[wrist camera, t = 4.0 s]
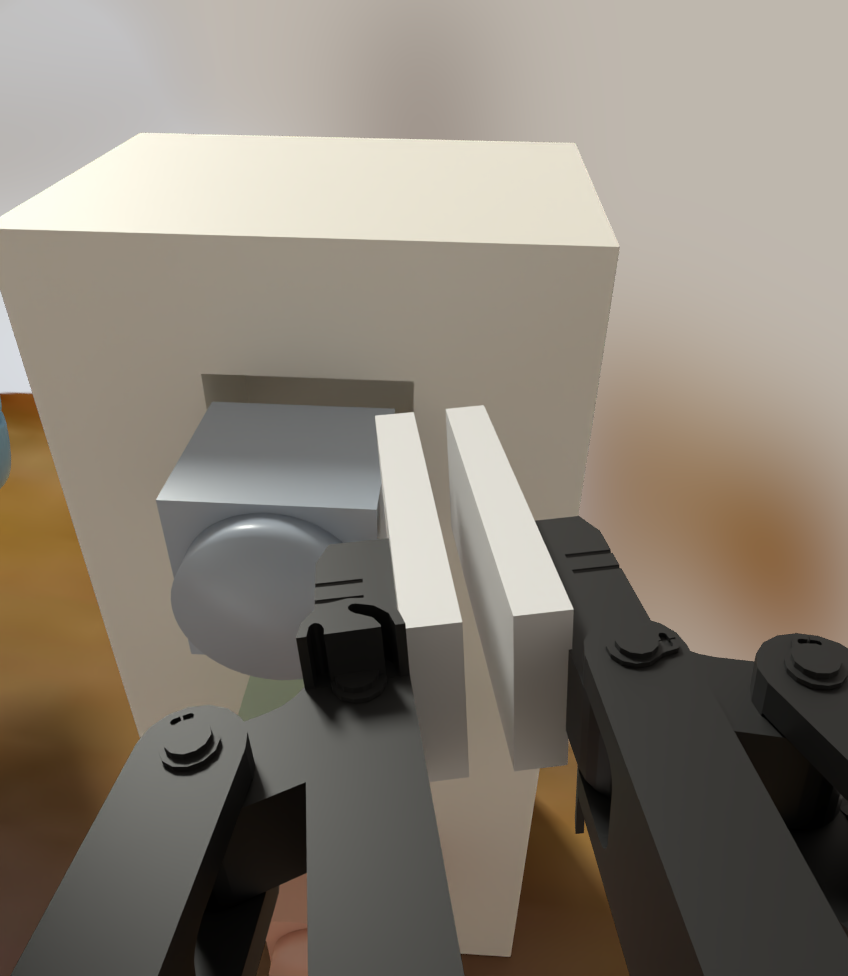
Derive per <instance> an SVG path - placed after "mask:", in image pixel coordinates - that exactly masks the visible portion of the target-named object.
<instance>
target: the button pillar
mask: <svg viewBox="0 0 848 976" xmlns="http://www.w3.org/2000/svg"><path fill="white" fill-rule="evenodd" d="M619 248H620V247H619V244H618V242H617V239H616V237H615V235H614V232H613V230H612V228H611V225H610V223H609V221H608V219H607V216H606V214H605V212H604V209H603V207H602V205H601V203H600V200H599V197H598V195H597V193H596V190H595V188H594V186H593V183H592V181H591V179H590V176H589V174H588V172H587V170H586V167H585V165H584V163H583V160H582V158H581V155H580V153H579V151H578V149H577V146H576V144H575V143H550V142H549V143H547V142H507V141H506V142H505V141H466V140H465V141H464V140H424V139H422V140H421V139H381V138H379V139H378V138H338V137H296V136H295V137H293V136H254V135H252V136H251V135H209V134H169V133H139V134H138V135H136V136H135V137H133V138H131V139H129V140H128V141H126V142H124V143H123V144H121V145H119V146H118V147H116V148H114V149H113V150H111V151H109V152H108V153H106V154H104V155H103V156H101V157H99V158H98V159H96V160H94V161H92V162H91V163H89V164H88V165H86V166H84V167H83V168H81V169H79V170H77V171H76V172H74V173H72V174H71V175H70V176H67V177H66V178H64V179H62V180H61V181H59V182H57V183H56V184H54V185H52V186H51V187H49V188H47V189H46V190H44V191H42V192H41V193H39V194H37V195H36V196H34V197H32V198H31V199H29V200H27V201H26V202H24V203H23V204H21V205H19V206H17V207H16V208H14V209H12V210H11V211H9V212H7V213H6V214H4V215H2V216H1V217H0V291H1V294H2V297H3V300H4V304H5V306H6V310H7V313H8V316H9V319H10V323H11V326H12V329H13V332H14V336H15V338H16V341H17V345H18V348H19V351H20V355H21V358H22V361H23V364H24V367H25V371H26V374H27V377H28V380H29V384H30V387H31V389H32V393H33V396H34V400H35V403H36V406H37V409H38V412H39V416H40V419H41V422H42V425H43V428H44V432H45V435H46V438H47V441H48V444H49V448H50V451H51V454H52V457H53V461H54V464H55V467H56V470H57V473H58V477H59V480H60V483H61V486H62V489H63V493H64V496H65V499H66V502H67V505H68V509H69V512H70V515H71V518H72V521H73V525H74V528H75V531H76V534H77V537H78V541H79V544H80V547H81V550H82V553H83V557H84V560H85V563H86V566H87V569H88V573H89V576H90V579H91V582H92V585H93V589H94V592H95V595H96V598H97V601H98V605H99V608H100V611H101V614H102V617H103V621H104V624H105V627H106V630H107V634H108V637H109V640H110V643H111V646H112V650H113V653H114V656H115V659H116V662H117V666H118V669H119V672H120V675H121V678H122V682H123V685H124V688H125V691H126V694H127V698H128V701H129V704H130V707H131V710H132V714H133V717H134V720H135V723H136V726H137V730H138V733H139V736H140V739H141V737H142V736H143V735H144V733H145V732H146V731H147V730H148V728H150V727H151V726H152V725H154V724H155V723H157V722H158V721H160V720H161V719H162V718H164V717H165V716H167V715H169V714H172V713H174V712H177V711H180V710H182V709H185V708H187V707H194V706H203V705H213V706H218V707H223V708H228V709H229V710H231V711H232V712H234V713H235V714H237V715H238V713H239V710H240V707H241V703H242V700H243V697H244V694H245V690H246V687H247V684H248V681H249V678H250V675H246V674H242V673H240V672H237V671H234V670H232V669H229V668H227V667H225V666H223V665H221V664H219V663H217V662H216V661H214V660H212V659H211V658H209V657H208V656H206V655H202V654H191V650H190V646H189V642H188V638H187V637H186V636H185V635H184V633H183V632H182V630H181V629H180V627H179V625H178V623H177V621H176V619H175V617H174V614H173V610H172V605H171V588H172V584H173V581H174V577H173V572H172V568H171V564H170V559H169V555H168V551H167V546H166V542H165V538H164V533H163V529H162V525H161V520H160V516H159V512H158V507H157V503H156V499H157V497H158V495H159V493H160V492H161V490H162V488H163V486H164V485H165V483H166V481H167V479H168V478H169V476H170V474H171V472H172V471H173V469H174V467H175V465H176V464H177V462H178V460H179V458H180V457H181V455H182V453H183V451H184V450H185V448H186V446H187V444H188V443H189V441H190V439H191V437H192V436H193V434H194V432H195V430H196V429H197V427H198V425H199V423H200V422H201V420H202V418H203V416H204V415H205V413H206V411H207V409H208V408H209V406H210V404H211V402H234V403H260V404H286V405H312V406H338V407H364V408H390V409H395V414H398V413H408V412H414V416H415V420H416V424H417V429H418V433H419V437H420V442H421V446H422V450H423V455H424V459H425V463H426V467H427V472H428V476H429V480H430V485H431V489H432V493H433V498H434V502H435V506H436V511H437V515H438V519H439V523H440V528H441V532H442V536H443V541H444V545H445V549H446V554H447V558H448V562H449V566H450V571H451V575H452V579H453V584H454V588H455V592H456V597H457V601H458V605H459V610H460V614H461V618H462V624H463V647H464V669H465V691H466V714H467V736H468V759H469V777H467V778H459V779H451V780H443V781H435V782H429V783H430V789H431V794H432V800H433V805H434V811H435V816H436V822H437V827H438V833H439V838H440V844H441V849H442V855H443V860H444V866H445V872H446V877H447V883H448V888H449V894H450V899H451V905H452V910H453V916H454V921H455V927H456V932H457V938H458V943H459V949H460V953H461V954H475V955H490V956H504V957H511V951H512V944H513V938H514V931H515V925H516V918H517V912H518V905H519V899H520V892H521V886H522V879H523V873H524V866H525V860H526V853H527V847H528V840H529V834H530V827H531V821H532V814H533V808H534V801H535V795H536V788H537V782H538V775H539V769H540V768H537V769H529V770H521V771H514V769H513V765H512V761H511V757H510V753H509V749H508V746H507V742H506V738H505V734H504V730H503V726H502V722H501V718H500V714H499V711H498V707H497V703H496V699H495V695H494V691H493V687H492V683H491V679H490V676H489V672H488V668H487V664H486V660H485V656H484V652H483V648H482V644H481V641H480V637H479V633H478V629H477V625H476V621H475V617H474V613H473V609H472V606H471V602H470V598H469V594H468V590H467V586H466V582H465V578H464V574H463V571H462V567H461V563H460V559H459V555H458V551H457V547H456V543H455V539H454V536H453V532H452V528H451V509H450V489H449V469H448V449H447V429H446V409H450V408H460V407H470V406H481V405H484V407H485V409H486V411H487V414H488V416H489V418H490V420H491V423H492V425H493V427H494V430H495V432H496V434H497V436H498V439H499V441H500V443H501V445H502V448H503V450H504V452H505V454H506V457H507V459H508V461H509V464H510V466H511V468H512V470H513V473H514V475H515V477H516V479H517V482H518V484H519V486H520V489H521V491H522V493H523V495H524V498H525V500H526V502H527V504H528V507H529V509H530V511H531V514H532V516H533V518H534V520H535V521H536V520H545V519H555V518H564V517H574V516H578V515H579V508H580V502H581V495H582V489H583V482H584V475H585V469H586V463H587V456H588V449H589V443H590V436H591V430H592V424H593V417H594V411H595V404H596V398H597V391H598V385H599V378H600V371H601V365H602V359H603V352H604V346H605V339H606V333H607V326H608V320H609V313H610V306H611V300H612V293H613V287H614V280H615V274H616V268H617V261H618V255H619Z"/></svg>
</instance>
